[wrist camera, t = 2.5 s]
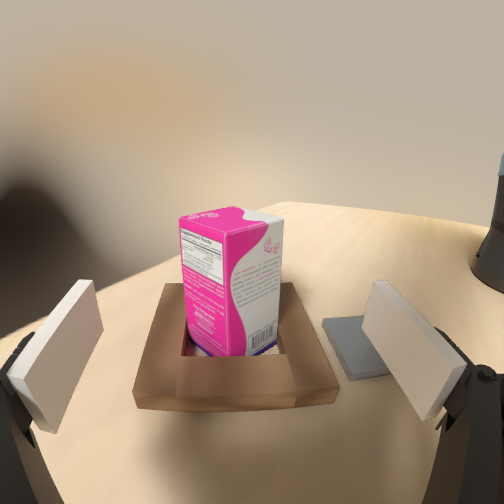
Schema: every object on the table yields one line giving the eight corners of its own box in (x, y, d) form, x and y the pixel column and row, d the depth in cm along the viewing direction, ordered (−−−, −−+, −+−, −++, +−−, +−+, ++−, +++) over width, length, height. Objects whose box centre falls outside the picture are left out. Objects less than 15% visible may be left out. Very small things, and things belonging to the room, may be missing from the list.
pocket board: (290, 296, 34) (291, 282, 33) (333, 402, 19) (339, 386, 18) (166, 297, 32) (165, 283, 32) (137, 408, 18) (131, 391, 17)
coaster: (389, 318, 29) (391, 312, 29) (426, 364, 22) (429, 358, 22) (322, 325, 29) (323, 318, 28) (349, 380, 21) (351, 373, 21)
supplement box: (233, 317, 30) (235, 203, 26) (278, 344, 26) (289, 218, 22) (185, 339, 26) (177, 214, 22) (229, 374, 22) (228, 233, 18)
